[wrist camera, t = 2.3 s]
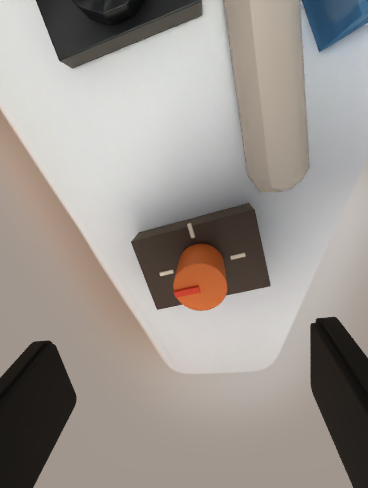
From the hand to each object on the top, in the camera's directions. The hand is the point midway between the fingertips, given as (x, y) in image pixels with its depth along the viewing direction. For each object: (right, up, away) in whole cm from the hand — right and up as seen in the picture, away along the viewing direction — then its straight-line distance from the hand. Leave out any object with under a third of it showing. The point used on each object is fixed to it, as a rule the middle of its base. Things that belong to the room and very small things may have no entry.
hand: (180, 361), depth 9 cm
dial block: (+2, +3, +19) cm, 19 cm away
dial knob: (+2, +2, +16) cm, 16 cm away
